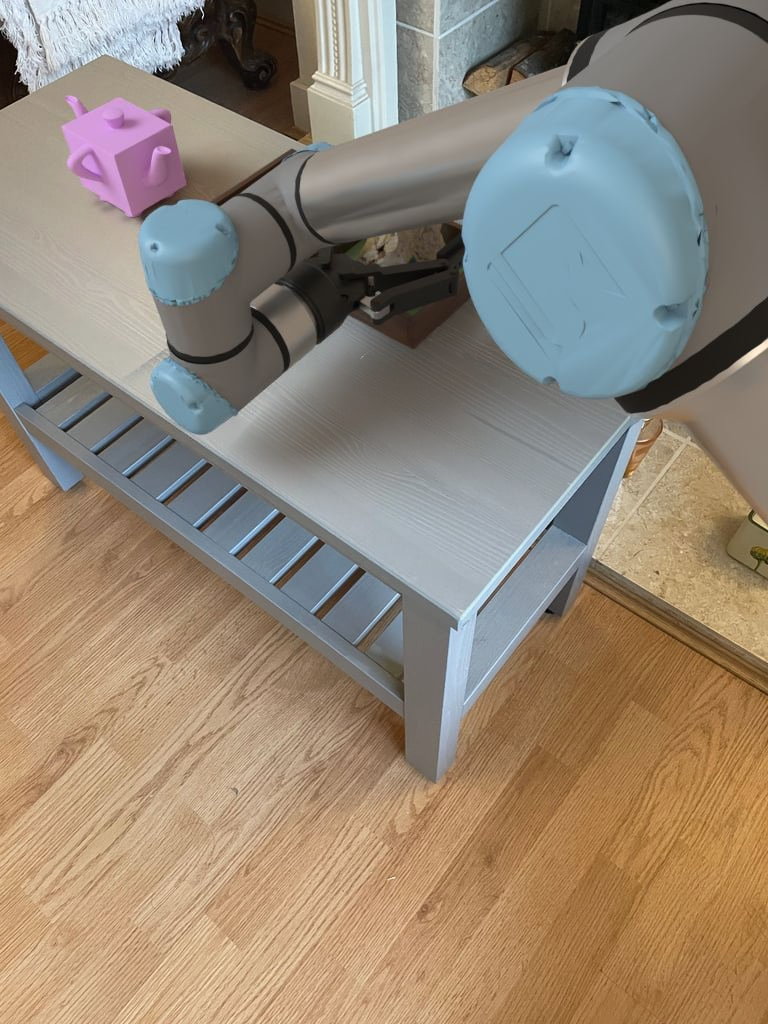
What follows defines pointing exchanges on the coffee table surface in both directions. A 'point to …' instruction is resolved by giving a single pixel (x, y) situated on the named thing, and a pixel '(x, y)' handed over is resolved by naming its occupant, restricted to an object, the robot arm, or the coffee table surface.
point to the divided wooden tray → (400, 327)
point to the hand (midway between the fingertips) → (424, 210)
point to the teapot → (124, 153)
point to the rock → (402, 248)
